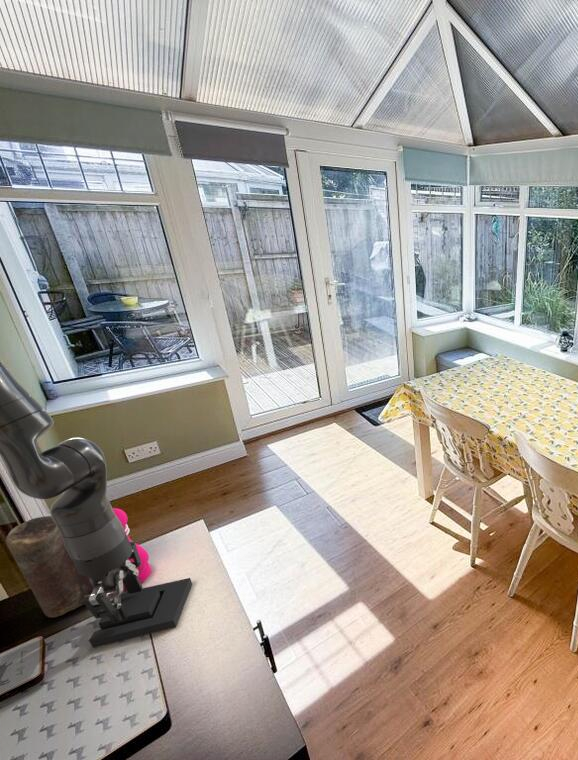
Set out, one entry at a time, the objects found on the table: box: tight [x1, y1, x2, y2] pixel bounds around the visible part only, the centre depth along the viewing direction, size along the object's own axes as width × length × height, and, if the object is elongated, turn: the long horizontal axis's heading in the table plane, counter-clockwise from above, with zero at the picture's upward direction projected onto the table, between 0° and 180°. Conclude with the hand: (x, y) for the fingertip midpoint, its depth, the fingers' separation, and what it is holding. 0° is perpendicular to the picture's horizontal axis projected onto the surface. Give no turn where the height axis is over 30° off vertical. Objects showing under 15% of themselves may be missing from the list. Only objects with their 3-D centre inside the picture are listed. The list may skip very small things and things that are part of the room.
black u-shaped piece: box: [88, 577, 193, 649], centre depth 83 cm, size 13×10×2 cm
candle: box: [5, 515, 94, 618], centre depth 81 cm, size 8×7×20 cm
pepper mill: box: [112, 507, 152, 591], centre depth 87 cm, size 7×7×20 cm
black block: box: [97, 591, 161, 630], centre depth 82 cm, size 8×5×3 cm, turn 110°
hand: (128, 605), depth 81 cm, fingers open, 6 cm apart
